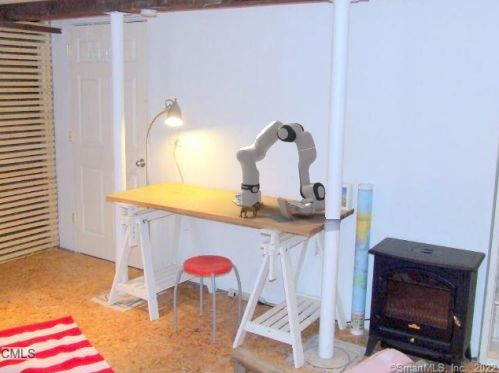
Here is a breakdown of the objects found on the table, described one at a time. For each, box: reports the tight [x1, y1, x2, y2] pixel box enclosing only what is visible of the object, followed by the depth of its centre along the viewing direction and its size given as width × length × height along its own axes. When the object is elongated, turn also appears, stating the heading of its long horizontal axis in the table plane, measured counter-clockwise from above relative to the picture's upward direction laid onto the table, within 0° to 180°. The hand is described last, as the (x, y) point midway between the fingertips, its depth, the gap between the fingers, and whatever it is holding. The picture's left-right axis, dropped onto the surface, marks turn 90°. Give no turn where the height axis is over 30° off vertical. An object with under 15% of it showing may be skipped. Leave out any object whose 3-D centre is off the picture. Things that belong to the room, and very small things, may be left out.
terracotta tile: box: [276, 197, 293, 219], centre depth 325 cm, size 8×2×12 cm, turn 28°
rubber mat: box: [264, 213, 303, 224], centre depth 326 cm, size 18×16×1 cm
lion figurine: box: [238, 201, 262, 218], centre depth 330 cm, size 15×5×9 cm, turn 116°
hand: (287, 207), depth 326 cm, fingers closed
